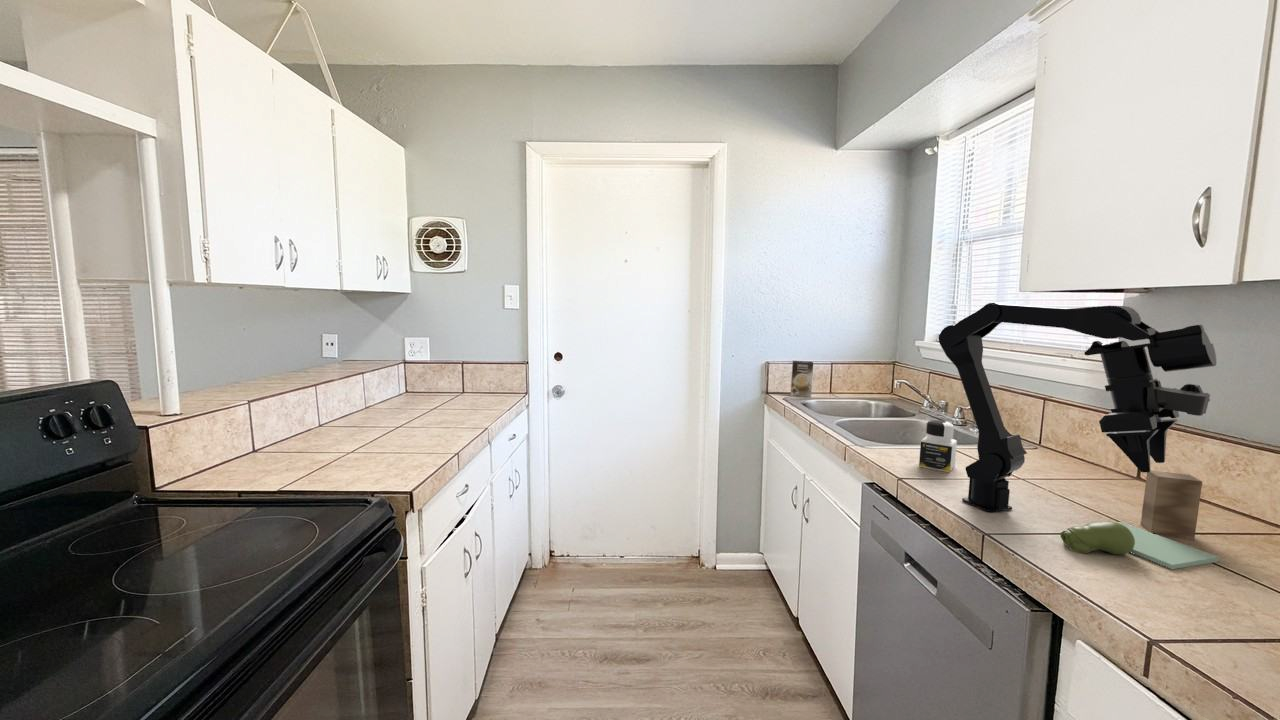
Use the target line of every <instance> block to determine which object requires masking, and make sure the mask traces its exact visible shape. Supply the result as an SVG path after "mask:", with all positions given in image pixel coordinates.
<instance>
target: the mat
mask: <svg viewBox="0 0 1280 720" xmlns="http://www.w3.org/2000/svg"><path fill="white" fill-rule="evenodd" d="M1116 523H1119V524H1122V525H1124V526H1125V527H1127V528H1128V529H1129V530H1130V531H1131V533H1132V534H1133V536H1134V539H1135V545H1134V548H1133V549H1132V550H1131V551H1130V552H1132V553H1134V554H1136V555H1135V556H1137V555H1139V556H1141V557H1140V558H1142V557H1144V558H1146V559H1145V560H1147V559H1149V560H1151V561H1150V562H1152V561H1153V562H1152V563H1154V562H1156V563H1155V564H1157V563H1158V564H1157V565H1159V564H1160V565H1159V566H1162V565H1163V566H1162V567H1164V566H1166V567H1165V568H1167V567H1168V568H1167V569H1169V568H1170V570H1171V569H1172V570H1177V568H1178V569H1183V568H1189V567H1193V566H1194V567H1195V566H1199V565H1200V566H1201V565H1205V564H1212V563H1213V564H1214V563H1218V562H1219V561H1220V560H1219V559H1220V557H1219V556H1218V555H1214V554H1212V553H1210V552H1206V551H1203V550H1200V549H1198V548H1195V547H1192V546H1189V545H1188V544H1187V545H1186V544H1184V543H1181V542H1179V541H1175V540H1173V539H1170V538H1167V537H1164V536H1163V535H1159V534H1153V533H1151V532H1148V531H1147V530H1146V529H1142V528H1141V527H1140V528H1139V527H1138V526H1134V525H1130V524H1128V523H1126V522H1123V521H1118V522H1116ZM1132 553H1131V554H1132ZM1134 554H1133V555H1134ZM1139 556H1138V557H1139ZM1144 558H1143V559H1144ZM1149 560H1148V561H1149Z"/></svg>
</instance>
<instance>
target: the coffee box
mask: <svg viewBox="0 0 1280 720" xmlns="http://www.w3.org/2000/svg"><path fill="white" fill-rule="evenodd" d="M791 365H792V367H791V381H790V383H791V384H790V397H795V398H796V397H797V398H810V399H811V398H812V391H813V374H814V362H813V361H808V360H806V361H805V360H792V363H791Z"/></svg>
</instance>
